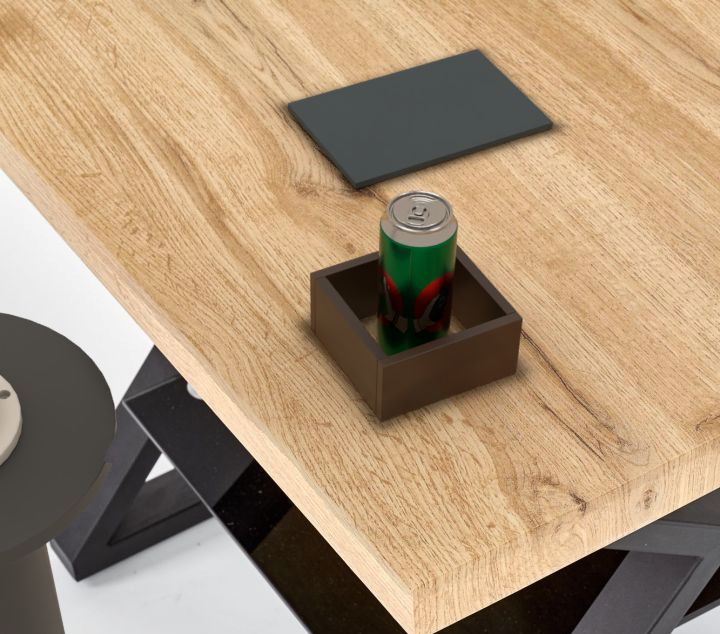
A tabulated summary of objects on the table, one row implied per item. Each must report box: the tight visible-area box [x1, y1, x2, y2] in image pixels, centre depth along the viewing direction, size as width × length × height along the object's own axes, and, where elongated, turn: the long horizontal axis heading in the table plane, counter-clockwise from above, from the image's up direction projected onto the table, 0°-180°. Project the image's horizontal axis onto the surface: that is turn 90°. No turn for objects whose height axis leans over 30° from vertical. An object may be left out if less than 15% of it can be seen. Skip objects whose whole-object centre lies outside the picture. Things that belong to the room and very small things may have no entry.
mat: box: [287, 48, 554, 190], centre depth 128 cm, size 18×12×1 cm, turn 118°
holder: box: [309, 243, 524, 423], centre depth 108 cm, size 11×11×5 cm
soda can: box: [375, 190, 459, 357], centre depth 105 cm, size 5×5×12 cm
